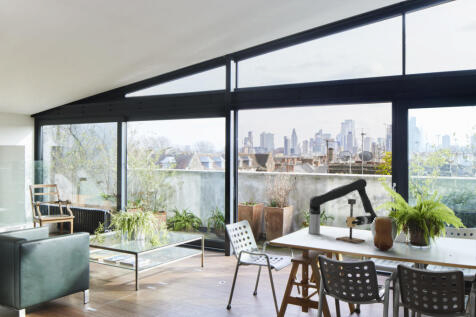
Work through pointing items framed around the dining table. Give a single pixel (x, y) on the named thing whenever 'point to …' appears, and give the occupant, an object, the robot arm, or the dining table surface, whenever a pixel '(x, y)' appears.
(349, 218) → the sleeve
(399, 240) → the cable organizer
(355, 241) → the stand
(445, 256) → the dining table surface
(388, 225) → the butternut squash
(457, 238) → the dining table surface
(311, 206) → the robot arm
